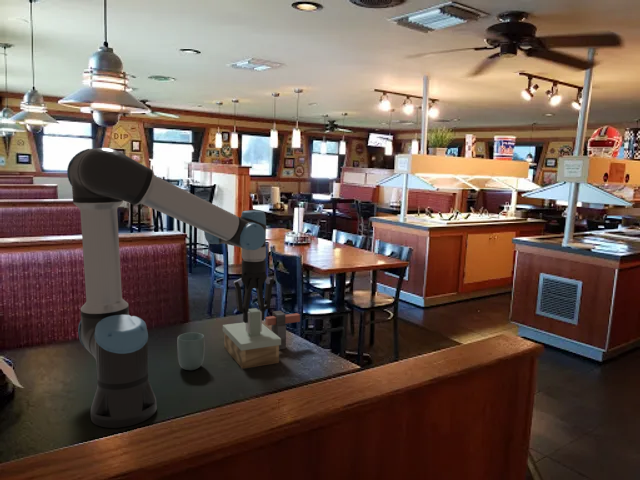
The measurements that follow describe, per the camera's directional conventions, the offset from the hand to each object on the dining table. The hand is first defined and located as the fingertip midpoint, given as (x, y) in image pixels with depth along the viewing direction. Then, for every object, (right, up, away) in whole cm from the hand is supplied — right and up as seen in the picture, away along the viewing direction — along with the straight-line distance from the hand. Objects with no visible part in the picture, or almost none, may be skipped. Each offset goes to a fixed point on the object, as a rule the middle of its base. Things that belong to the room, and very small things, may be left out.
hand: (253, 331), depth 157 cm
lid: (-1, -4, +3) cm, 5 cm away
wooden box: (+2, -8, +5) cm, 10 cm away
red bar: (+8, +1, +12) cm, 15 cm away
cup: (-18, -10, -8) cm, 22 cm away
